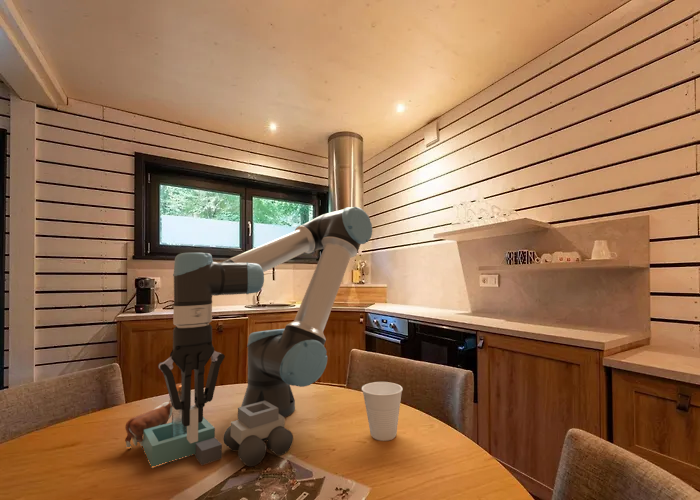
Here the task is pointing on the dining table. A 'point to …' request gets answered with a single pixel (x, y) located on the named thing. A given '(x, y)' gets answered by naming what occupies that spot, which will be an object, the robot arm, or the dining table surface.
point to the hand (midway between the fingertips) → (192, 439)
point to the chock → (208, 451)
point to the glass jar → (177, 418)
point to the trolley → (258, 432)
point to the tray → (172, 442)
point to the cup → (382, 408)
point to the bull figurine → (147, 422)
